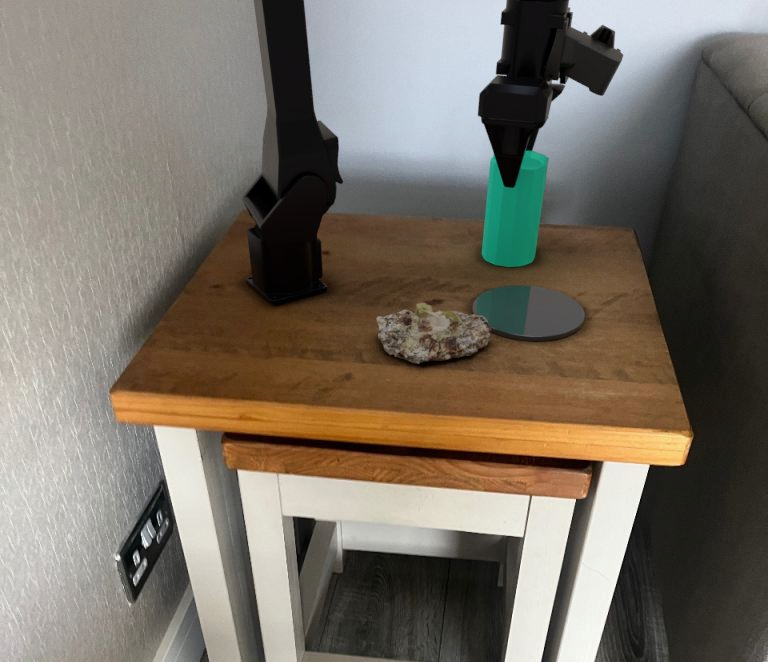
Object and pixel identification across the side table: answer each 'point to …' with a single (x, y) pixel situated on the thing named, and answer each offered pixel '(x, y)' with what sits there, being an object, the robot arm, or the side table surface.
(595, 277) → the side table surface
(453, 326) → the mineral rock
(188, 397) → the side table surface
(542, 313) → the slate coaster
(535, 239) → the candle
